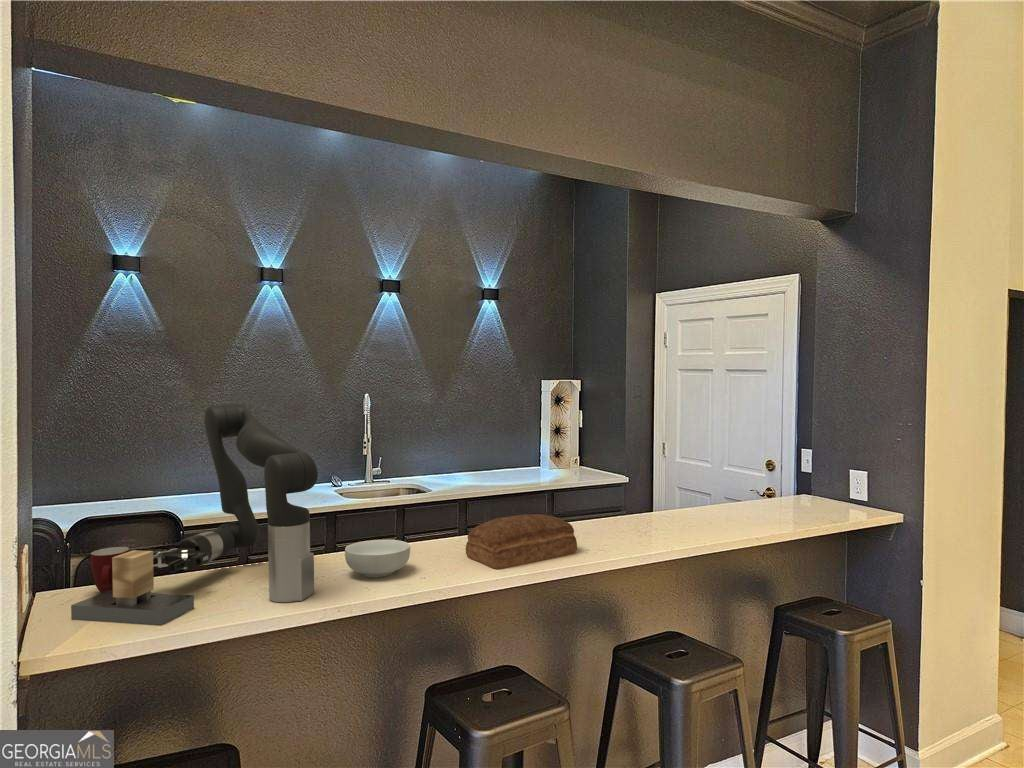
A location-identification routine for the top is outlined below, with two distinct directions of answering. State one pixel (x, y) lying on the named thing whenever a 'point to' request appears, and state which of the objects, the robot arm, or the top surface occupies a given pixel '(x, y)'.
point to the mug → (105, 566)
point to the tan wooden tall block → (132, 577)
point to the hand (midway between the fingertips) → (152, 567)
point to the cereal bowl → (377, 557)
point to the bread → (520, 540)
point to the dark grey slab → (133, 609)
